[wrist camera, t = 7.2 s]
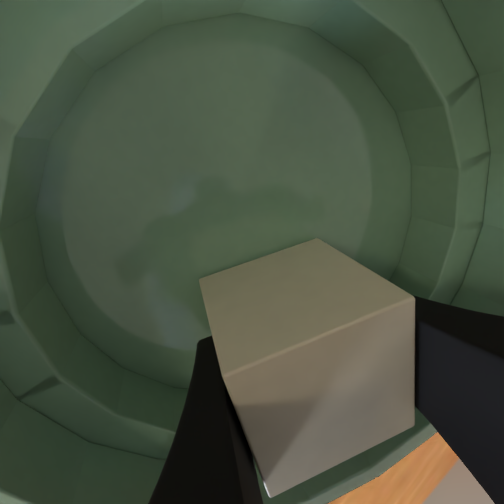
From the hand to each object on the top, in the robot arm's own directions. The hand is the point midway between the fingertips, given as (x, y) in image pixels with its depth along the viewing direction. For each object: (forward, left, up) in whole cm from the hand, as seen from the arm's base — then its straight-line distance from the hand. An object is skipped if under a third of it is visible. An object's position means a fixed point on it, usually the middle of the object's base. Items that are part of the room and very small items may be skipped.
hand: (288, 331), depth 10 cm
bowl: (+3, 0, -2) cm, 4 cm away
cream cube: (0, 0, -1) cm, 1 cm away
